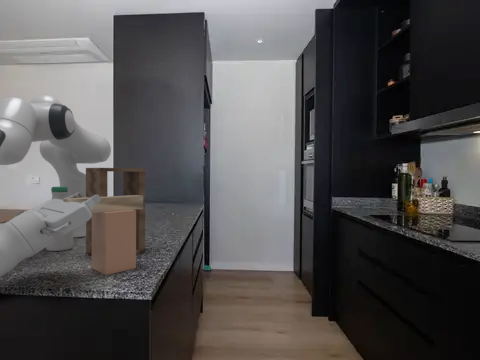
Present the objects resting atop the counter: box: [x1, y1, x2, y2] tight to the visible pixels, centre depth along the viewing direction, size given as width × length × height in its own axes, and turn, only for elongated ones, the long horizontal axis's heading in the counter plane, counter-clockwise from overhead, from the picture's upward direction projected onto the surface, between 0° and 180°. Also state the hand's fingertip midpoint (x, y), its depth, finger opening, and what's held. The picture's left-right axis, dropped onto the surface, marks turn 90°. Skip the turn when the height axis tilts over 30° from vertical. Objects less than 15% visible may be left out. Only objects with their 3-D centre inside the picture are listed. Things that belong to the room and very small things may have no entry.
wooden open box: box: [85, 167, 146, 258], centre depth 102 cm, size 10×14×26 cm
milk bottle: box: [45, 186, 74, 252], centre depth 107 cm, size 8×8×20 cm
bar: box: [63, 195, 143, 213], centre depth 84 cm, size 4×19×4 cm, turn 137°
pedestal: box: [91, 210, 137, 276], centre depth 86 cm, size 8×8×15 cm
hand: (90, 195), depth 81 cm, fingers open, 8 cm apart
